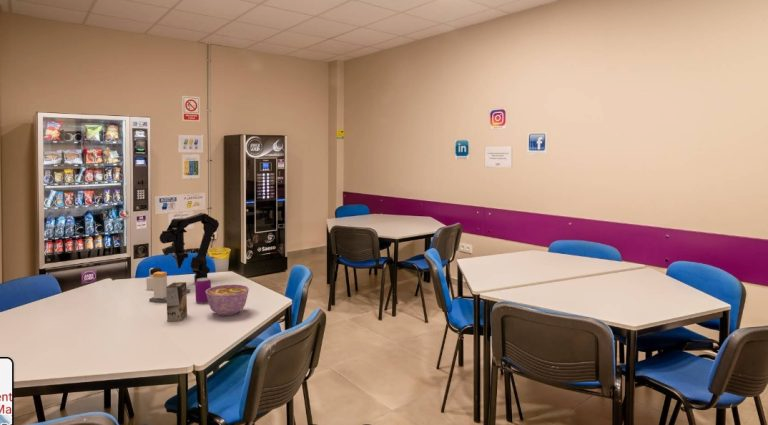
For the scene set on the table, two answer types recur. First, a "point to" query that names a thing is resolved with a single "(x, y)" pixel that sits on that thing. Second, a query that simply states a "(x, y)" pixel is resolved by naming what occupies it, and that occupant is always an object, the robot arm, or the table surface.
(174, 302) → the coffee box
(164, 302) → the board
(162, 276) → the fader knob
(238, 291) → the bowl of food
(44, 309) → the table surface
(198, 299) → the beverage can
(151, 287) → the medicine bottle
